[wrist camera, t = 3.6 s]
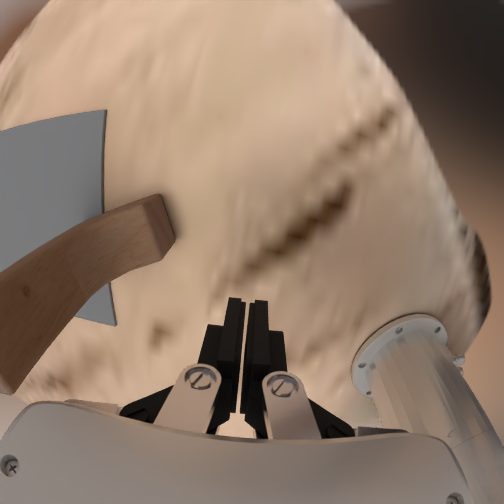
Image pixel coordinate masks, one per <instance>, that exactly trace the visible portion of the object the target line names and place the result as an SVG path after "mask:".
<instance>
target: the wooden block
mask: <svg viewBox="0 0 504 504" xmlns="http://www.w3.org/2000/svg"><path fill="white" fill-rule="evenodd" d="M174 242H175V237H174V234H173V231H172V228H171V225H170V222H169V219H168V216H167V213H166V210H165V207H164V204H163V201H162V198H161V196H160V195H157V194H155V195H152V196H149V197H147V198H144V199H141V200H138V201H135V202H132V203H130V204H127V205H124V206H122V207H119V208H116V209H114V210H111V211H108V212H106V213H103V214H101V215H98V216H96V217H93V218H91V219H88V220H86V221H83V222H81V223H79V224H78V225H76V226H74V227H72V228H70V229H69V230H67V231H65V232H63V233H62V234H60V235H58V236H56V237H55V238H53V239H51V240H50V241H48V242H46V243H45V244H43V245H41V246H40V247H38V248H37V249H35V250H33V251H32V252H30V253H29V254H27V255H26V256H24V257H23V258H21V259H20V260H18V261H17V262H15V263H14V264H12V265H11V266H9V267H8V268H6V269H5V270H3V271H2V272H0V393H2V394H6V395H12V394H14V393H15V392H16V390H17V389H18V388H19V386H20V385H21V383H22V382H23V380H24V379H25V378H26V376H27V375H28V374H29V372H30V371H31V369H32V368H33V367H34V365H35V364H36V363H37V361H38V360H39V359H40V357H41V356H42V355H43V354H44V352H45V351H46V350H47V348H48V347H49V346H50V345H51V343H52V342H53V341H54V340H55V338H56V337H57V336H58V335H59V334H60V332H61V331H62V330H63V329H64V327H65V326H66V325H67V324H68V323H69V321H70V320H71V319H72V318H73V317H74V316H75V314H76V313H77V312H78V311H79V310H80V309H81V308H82V306H83V305H84V304H85V303H86V302H87V301H88V300H89V298H90V297H91V296H92V295H94V294H95V293H96V292H97V291H98V290H100V289H101V288H102V287H103V286H104V285H106V284H107V283H109V282H110V281H112V280H114V279H116V278H118V277H119V276H121V275H123V274H125V273H127V272H129V271H131V270H134V269H137V268H140V267H143V266H146V265H149V264H152V263H155V262H158V261H160V260H162V259H163V258H164V256H165V255H166V253H167V252H168V251H169V249H170V248H171V246H172V245H173V244H174Z"/></svg>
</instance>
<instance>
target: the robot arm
mask: <svg viewBox="0 0 504 504" xmlns="http://www.w3.org/2000/svg"><path fill="white" fill-rule="evenodd" d="M245 308H246V302H241V298H231V297H229V300H228V305H227V310H226V315H225V321H224V326H219V325H211V324H208V326H207V330H206V333H205V337H204V341H203V344H202V348H201V352H200V356H199V359H198V363H197V364H193V365H190V366H188V367H186V368H185V369H184V370H183V371H182V372H181V373H180V375H179V377H178V379H177V381H176V383H175V384H174V385H173V386H170V387H168V388H166V389H163V390H161V391H159V392H156V393H154V394H152V395H149V396H147V397H144V398H142V399H140V400H137V401H135V402H132V403H130V404H128V405H126V406H124V407H118V404H109V403H99V402H90V401H83V400H76V399H69V400H66V401H64V402H62V401H40V402H35V403H32V404H30V405H28V406H27V407H26V408H24V409H23V410H22V411H21V412H20V413H19V415H18V416H17V417H16V418H15V419H14V421H13V422H12V423H11V425H10V426H9V428H8V429H7V431H6V432H5V434H4V435H3V437H2V439H1V441H0V504H504V446H503V444H502V442H501V440H500V438H499V436H498V435H497V433H496V431H495V429H494V427H493V425H492V424H491V422H490V420H489V418H488V417H487V415H486V413H485V411H484V410H483V408H482V407H481V405H480V403H479V402H478V400H477V399H476V397H475V395H474V393H473V392H472V390H471V389H470V387H469V385H468V384H467V382H466V381H465V379H464V378H463V369H462V368H461V367H456V366H457V365H463V363H464V362H465V356H464V355H463V354H460V355H454V356H453V355H452V354H451V352H450V351H449V350H448V348H447V344H448V336H447V332H446V329H445V328H444V326H443V325H442V323H441V322H440V321H439V320H438V319H436V318H435V317H433V316H431V315H427V314H414V315H408V316H405V317H402V318H399V319H397V320H395V321H393V322H391V323H389V324H387V325H385V326H384V327H382V328H381V329H379V330H378V331H377V332H376V333H375V334H373V335H372V336H371V337H370V338H369V339H368V340H367V341H366V342H365V343H364V344H363V345H362V347H361V348H360V350H359V351H358V353H357V354H356V356H355V359H354V361H353V364H352V368H351V377H352V380H353V384H354V386H355V388H356V390H357V391H358V392H359V393H360V394H362V395H364V396H366V397H370V398H373V400H374V403H375V405H376V408H377V411H378V414H379V417H380V420H381V423H382V426H383V428H372V427H361V426H358V427H357V429H355V428H352V427H351V426H350V425H348V424H347V423H346V422H344V421H343V420H341V419H339V418H338V417H336V416H335V415H333V414H332V413H330V412H328V411H327V410H325V409H324V408H322V407H321V406H319V405H318V404H316V403H315V402H313V401H312V400H310V399H309V398H308V397H307V395H306V392H305V389H304V386H303V383H302V382H301V380H300V379H299V378H298V377H297V376H295V375H294V374H292V373H288V372H287V363H286V353H285V344H284V334H283V331H271V330H269V324H268V301H262V300H255V303H250V306H249V316H248V325H247V334H246V343H245V352H244V365H243V378H242V391H241V404H240V413H241V414H245V421H246V422H247V423H248V424H249V425H250V426H251V427H253V436H254V439H253V438H240V437H229V436H220V435H218V432H219V428H220V425H221V424H223V423H225V422H226V421H228V420H229V418H230V413H235V412H236V403H237V393H238V383H239V373H240V363H241V353H242V341H243V330H244V319H245Z"/></svg>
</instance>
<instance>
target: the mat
mask: <svg viewBox="0 0 504 504" xmlns="http://www.w3.org/2000/svg"><path fill="white" fill-rule="evenodd" d="M106 113H107V110H99V111H92V112H85V113H78V114H72V115H67V116H61V117H56V118H51V119H47V120H42V121H38V122H33V123H29V124H25V125H22V126H18V127H14V128H11V129H7V130H4V131H1V132H0V272H2V271H3V270H5V269H6V268H8V267H9V266H11V265H12V264H14V263H15V262H17V261H18V260H20V259H21V258H23V257H24V256H26V255H27V254H29V253H30V252H32V251H33V250H35V249H37V248H38V247H40V246H41V245H43V244H45V243H46V242H48V241H50V240H51V239H53V238H55V237H56V236H58V235H60V234H62V233H63V232H65V231H67V230H69V229H70V228H72V227H74V226H76V225H78V224H79V223H81V222H83V221H86V220H88V219H91V218H93V217H96V216H98V215H101V214H103V213H104V202H103V161H104V138H105V124H106ZM75 317H79V318H83V319H86V320H90V321H94V322H98V323H102V324H107V325H111V326H116V325H117V323H116V317H115V312H114V306H113V300H112V293H111V286H110V282H109V283H107V284H106V285H104V286H103V287H102V288H101V289H100V290H98V291H97V292H96V293H95V294H94V295H92V296H91V297H90V298H89V300H88V301H87V302H86V303H85V304H84V305H83V306H82V308H81V309H80V310H79V311H78V312H77V313H76V314H75Z"/></svg>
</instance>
